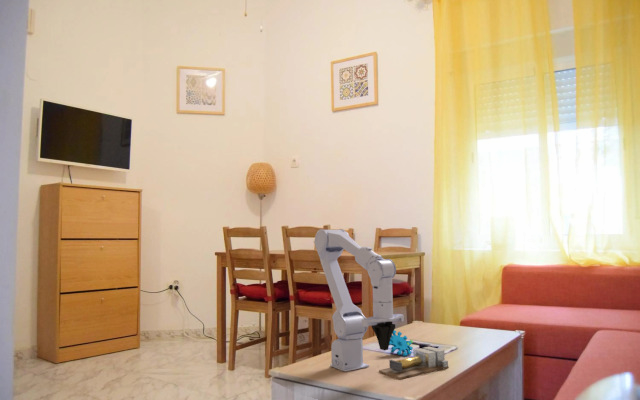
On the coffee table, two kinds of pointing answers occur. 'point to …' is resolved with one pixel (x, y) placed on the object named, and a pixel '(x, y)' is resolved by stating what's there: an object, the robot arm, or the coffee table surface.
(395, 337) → the gear
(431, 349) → the link
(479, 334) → the coffee table surface
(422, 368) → the board
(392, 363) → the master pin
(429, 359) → the link
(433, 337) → the coffee table surface
